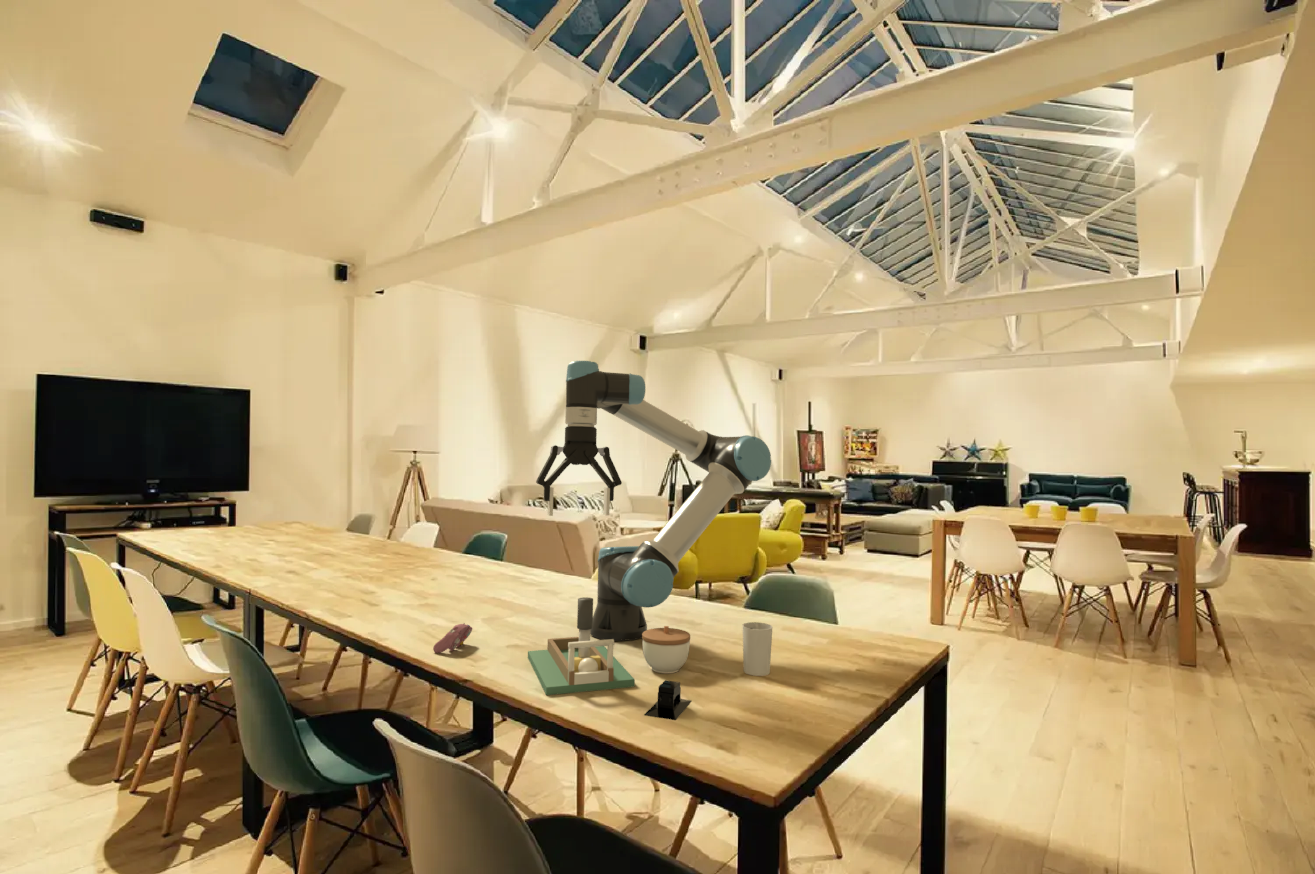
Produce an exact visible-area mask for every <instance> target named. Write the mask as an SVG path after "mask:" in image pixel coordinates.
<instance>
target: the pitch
mask: <svg viewBox="0 0 1315 874" xmlns="http://www.w3.org/2000/svg"><path fill="white" fill-rule="evenodd" d="M614 646H615V641H614V639H608V640H604V639H597V640H596V639H595V640H590V641H580V642H579V636H572V637H571V636H570V637H554V638H547V649H537V650H528V651H527V660H528V661H529V663H530V665H531V667H532V669H533V671H534V673H535V675H536V678H537V679H538V681H539V683H540V686H541V687H542V689H543V691H544V694H545V695H546V696H550V695H561V694H562V695H563V694H573V693H584V692H592V691H593V692H595V691H602V690H603V691H604V690H613V689H615V690H616V689H624V688H634V687H635V684H636V683H635V681H636V679H635V678H634V677H633V676H632V675H631V673H630V672H629V671H628V670H627V669H626V668H625V667H624V666H623V665H622V663H620V662H619V660H618V658H617V659H616V657H615V656H614ZM584 647H590V656H597V655H599V656H600V657H601V664H600V671H590V672H579V673H575V672H574V657H578V649H579V648H584Z"/></svg>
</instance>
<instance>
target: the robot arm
mask: <svg viewBox="0 0 1315 874" xmlns="http://www.w3.org/2000/svg"><path fill="white" fill-rule="evenodd" d="M566 369H567V370H566V376H565V385H566V387H565V391H566V392H565V397H566V398H565V420H564V423H565V424H566V425H567V426H565V428H564V445H563V446H558V445H556V444H555V445H554V444H553V445H551V446H550V452H549V453H550V454H549V456H548V457H547V460H546V462H545V463H544V466H543V467H542V470H541V471H540V472H539V475H538V477H537V478H536V480H535V483H536V485H540V486H542V487H543V500H544V502H547V515H548V516H550V517H551V516H552V517H553V516H554V492H555V491H554V490H555V487H552V485H553V483H554V482H555V481H557V480H558V478H559V477H560V476H561V475H562V473H563V472H564V471H565V470H566V469H567V468H568V467H569V466H570V465H573V466H574V465H575V466H578V465H582V466H588V465H589V466H590V467H591V468H593V470H594V471H595V472H596V474H597V475H598V476H599V477H600V478H601V480H602V481H603V483H604V484H605V485H606V487H604V488H603V511H602V512H603V514H602V515H605V516H610V503H611V502H614V498H615V497H614V493H615V487H618V486H621V485H622V480H621V478H620V475H619V473H618V471H617V468H616V467H615V464H614V462H613V460H612V458H611V454H610V453H611V452H610V447H608V446H603V447H597V434H598V433H597V432H598V431H597V428H596V427H595V426H597V425H598V409H600V410H601V409H602V410H603V411H605V412H607V413H609V414H611V415H613V416H615V417H616V418H618V419H619V420H621V421H624V422H625V423H628V425H631V426H632V427H634V428H636V429H639V430H640V431H642V432H644V433H645V434H647V435H649V436H650V437H653V438H655V439H656V440H658V441H659V442H662V443H663V444H665V445H667V446H669V447H671V448H672V449H675V450H676V451H678V452H680V453H681V454H683V455H685V458H686V460H687V461H688V462H690V463H692V464H694V465H695V466H697V467H699V468H701V469H703V470H705V471H706V472H708V474H707V475H706V476H705V477H704V479H702V480H701V482H700V483H699V484H698V486H697V487H695V489H694V490H693V491H692V493H690V495H689V496H688V497H687V498H686V499H685V501H684V502H683V503H682V504H681V506H680V507H679V508H678V509H677V511H675V513H674V514H673V515H672V516H671V518H670V519H669V520H668V521H667V522H666V523H665V524H664V526H663V527H662V528H661V529H660V530H659V532H658V533H657V534H656V535H655V536H654V538H653V539H651V540H645V541H642V542H641V544H640V545H638V546H637V545H633V546H630V545H629V546H628V545H627V546H607V547H606V546H605V547H601V548H600V549H599V551H598V558H597V600H596V601H597V602H596V607H595V610H594V611H593V627H592V629H591V630H590V636H592V637H593V638H596V639H598V640H608V639H614V642H615V641H618V642H620V641H623V642H625V641H634V640H638V639H642V633H643V632H644V631H646V630H648V625H647V624H648V623H647V620H646V618H645V613H644V611H643V608H654V607H657V606H659V605H661V604H663V603H664V602H665V601H666V600H667V599H668V598H669V597H670V595H671V593H672V592H673V588H674V578H675V576H676V575H677V574H678V573H679V562H680V561H681V560H682V558H684V556H685V555H686V553H687V552H688V551H689V550H690V549H691V547H692V546H693V545H694V543H696V542H697V540H698V539H699V538H700V537H701V535H702V534H703V532H705V530H706V529H707V528H708V527H709V525H711V524H712V521H713V520H714V519H716V517H717V515H718V514H719V513H720V512H721V510H723V508H724V507H725V506H726V505H727V503H728V502H729V501H730V500H731V498H733V496H734V495H737V494H739V495H740V494H743V493H744V492H745V490H746V489H747V488H748V487H749V486H750V485H751V483H752V482H758V481H760V480H762V479H764V478H765V477H766V476H767V475H768V474H769V472H770V470H771V466H772V456H771V454H772V453H771V451H770V449H769V446H768V445H767V444H766V442H765V441H764V440H762V438H759V437H757V436H752V435H741V436H718V435H714V434H711V433H710V432H708V431H706V430H704V429H701V430H697V429H695V428H693V427H692V426H691V425H688V424H687V423H684V422H683V421H681V420H680V419H677V418H676V417H674V416H672V415H671V414H670V413H668V412H666V411H664V410H662V409H660V408H659V407H657V406H655V405H653V404H652V403H650V402H649V401H647V400H644V399H645V395H646V381H645V379H644V377H643V376H641V375H639V374H633V373H621V372H606V371H602V370H600V369H599V364H598V363H597V362H595V361H591V360H573V361H570V362H569V363H568V365H567V368H566ZM561 453H563V454H564V456H565V458H564V459H563V461H561V464H559V466H558V467H557V468H556V469H555V470H554V471H553V472H552V473H551V474H550V476H549V477H548V478H547V479H546V477H547V476H548V473H549V472H550V470H551V468H552V466H553V465H554V462H555V460H556V459H557V456H559V455H560V454H561ZM597 454H599V455H600V457H602V459H603V461H604V463H605V466H606V467H607V470H608V473H609V475H610V477H611V478H610V477H609V475H608V474H607V473H606V472H605V471H604V469H603V467H602V466H600V463H599V462H598V461H597V460H596V458H595V457H596V456H597ZM545 479H546V480H545Z"/></svg>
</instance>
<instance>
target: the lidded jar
mask: <svg viewBox="0 0 1315 874" xmlns="http://www.w3.org/2000/svg"><path fill="white" fill-rule="evenodd" d="M641 639H642V643H641V644H642V653H643V658H644V660H645V662H646V663H647V665H648V666H649V667H651V670H652V671H654V672H655V673H659V674H674V673H677V672H679V671H680V669H681V668H682V667H683V666H684V664H685V663H686V662H687V660H688V657H689V653H690V642H691V634H690V632H688V631H686V630H683V629H679V628H673V627H669V625H664V626H663V627H656V628H654V627H653V628H650V629H647V630H646V631H644V632H643V633H642V638H641Z"/></svg>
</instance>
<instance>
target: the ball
mask: <svg viewBox="0 0 1315 874" xmlns="http://www.w3.org/2000/svg"><path fill="white" fill-rule="evenodd" d="M578 670H579V672H590V671H598V664H597V662H596V661H595V660H594V659H593V658H584V659H583V660H582V661H581V662H580V663H579V666H578Z"/></svg>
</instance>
